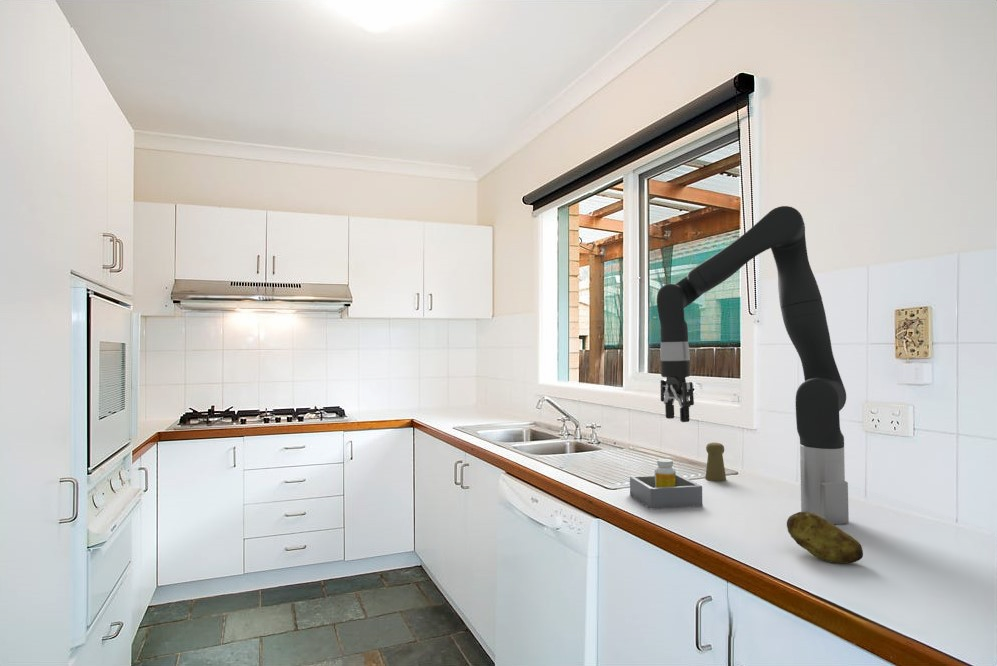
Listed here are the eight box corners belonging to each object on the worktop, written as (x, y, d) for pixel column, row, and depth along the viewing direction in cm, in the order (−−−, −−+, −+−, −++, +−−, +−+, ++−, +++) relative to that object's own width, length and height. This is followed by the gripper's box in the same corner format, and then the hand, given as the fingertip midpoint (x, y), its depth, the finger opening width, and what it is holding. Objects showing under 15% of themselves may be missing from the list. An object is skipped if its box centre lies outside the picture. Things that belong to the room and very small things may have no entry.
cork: (722, 482, 177) (722, 445, 177) (702, 479, 181) (701, 443, 181) (728, 478, 182) (728, 442, 182) (708, 476, 186) (708, 440, 186)
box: (702, 505, 153) (702, 486, 153) (650, 508, 151) (650, 488, 151) (677, 492, 167) (677, 474, 167) (630, 494, 165) (629, 476, 165)
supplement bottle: (652, 493, 161) (651, 458, 161) (672, 493, 161) (671, 457, 161) (658, 499, 156) (658, 462, 156) (678, 498, 156) (678, 462, 156)
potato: (838, 572, 109) (837, 528, 109) (779, 550, 120) (779, 510, 121) (869, 565, 112) (868, 522, 112) (809, 544, 124) (808, 505, 124)
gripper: (701, 359, 153) (703, 422, 152) (675, 358, 167) (678, 416, 166) (674, 359, 151) (676, 424, 151) (650, 359, 165) (652, 417, 165)
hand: (677, 420), depth 159 cm, fingers open, 8 cm apart
